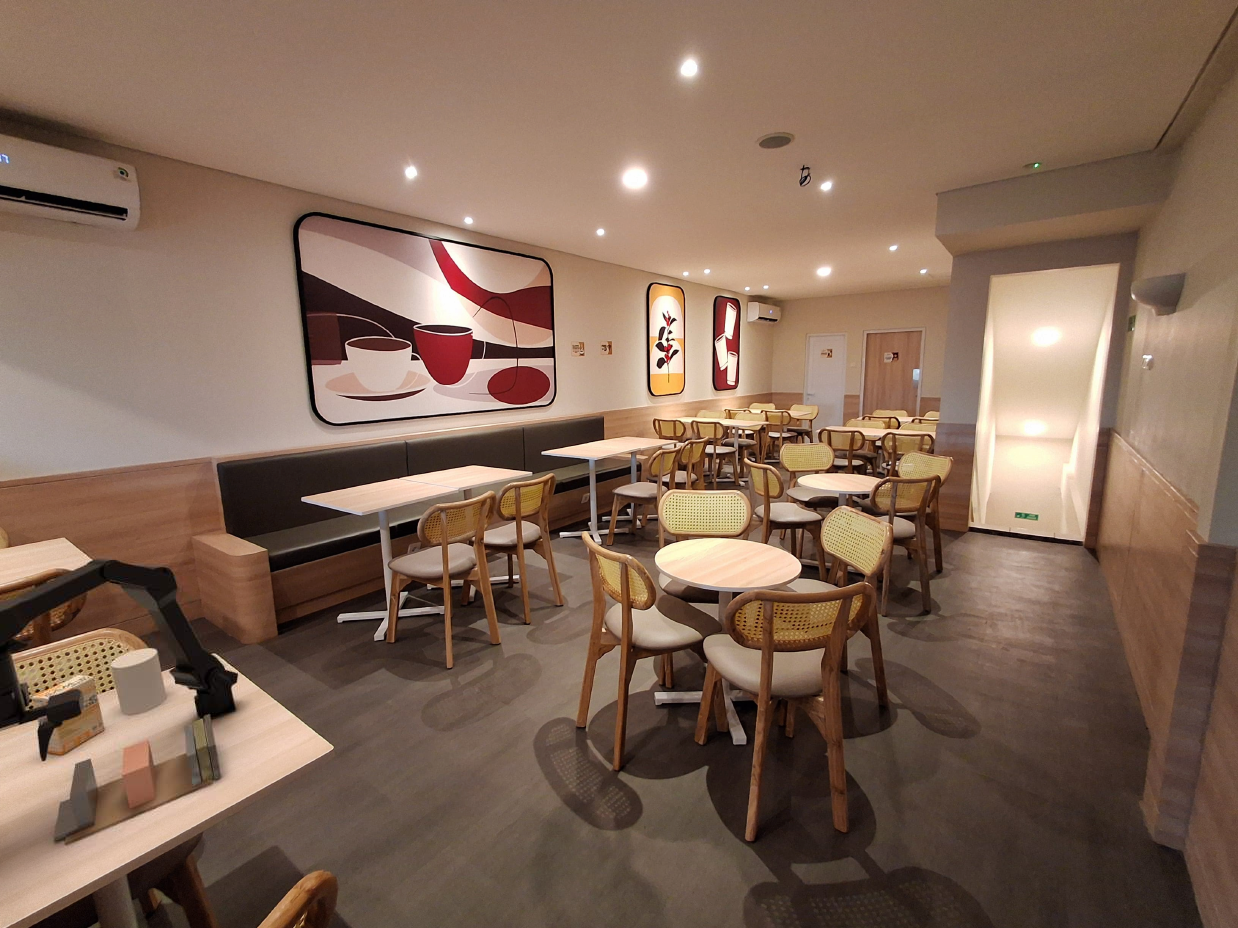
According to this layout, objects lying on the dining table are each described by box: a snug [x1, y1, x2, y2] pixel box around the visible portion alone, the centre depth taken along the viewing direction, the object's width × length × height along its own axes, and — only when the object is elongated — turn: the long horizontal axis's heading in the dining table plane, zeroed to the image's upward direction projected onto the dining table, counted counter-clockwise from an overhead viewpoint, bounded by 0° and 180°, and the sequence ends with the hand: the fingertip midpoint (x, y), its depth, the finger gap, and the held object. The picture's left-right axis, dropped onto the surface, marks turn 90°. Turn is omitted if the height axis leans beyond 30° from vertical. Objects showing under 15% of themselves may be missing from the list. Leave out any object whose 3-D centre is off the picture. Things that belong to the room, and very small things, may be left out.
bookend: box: [52, 758, 99, 842], centre depth 96 cm, size 5×10×7 cm, turn 40°
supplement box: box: [31, 674, 106, 756], centre depth 115 cm, size 8×5×13 cm, turn 168°
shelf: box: [64, 714, 222, 846], centre depth 102 cm, size 22×13×8 cm, turn 130°
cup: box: [110, 647, 167, 716], centre depth 127 cm, size 8×8×12 cm
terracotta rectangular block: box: [121, 739, 156, 809], centre depth 102 cm, size 4×9×7 cm, turn 41°
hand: (14, 769), depth 91 cm, fingers open, 7 cm apart
